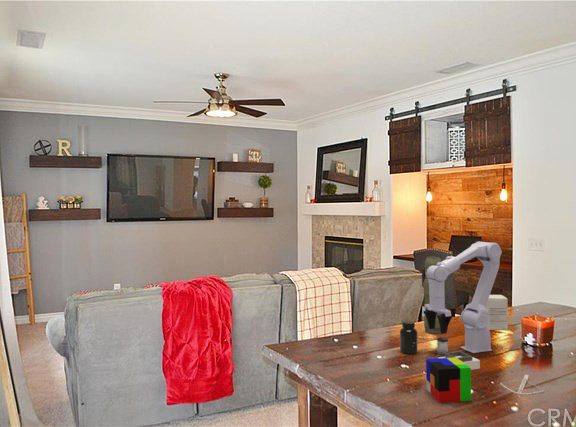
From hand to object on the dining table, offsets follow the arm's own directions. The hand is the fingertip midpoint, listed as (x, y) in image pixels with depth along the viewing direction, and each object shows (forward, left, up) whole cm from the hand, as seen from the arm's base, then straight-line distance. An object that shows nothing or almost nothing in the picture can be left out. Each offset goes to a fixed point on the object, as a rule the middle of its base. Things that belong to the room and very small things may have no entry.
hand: (437, 330), depth 188 cm
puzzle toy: (+21, +35, -10) cm, 42 cm away
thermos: (-18, -29, -10) cm, 36 cm away
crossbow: (-6, +37, -10) cm, 39 cm away
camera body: (+2, +15, -9) cm, 18 cm away
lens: (-2, 0, -9) cm, 10 cm away
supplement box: (-49, -25, -10) cm, 56 cm away
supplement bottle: (+9, -7, -10) cm, 15 cm away
